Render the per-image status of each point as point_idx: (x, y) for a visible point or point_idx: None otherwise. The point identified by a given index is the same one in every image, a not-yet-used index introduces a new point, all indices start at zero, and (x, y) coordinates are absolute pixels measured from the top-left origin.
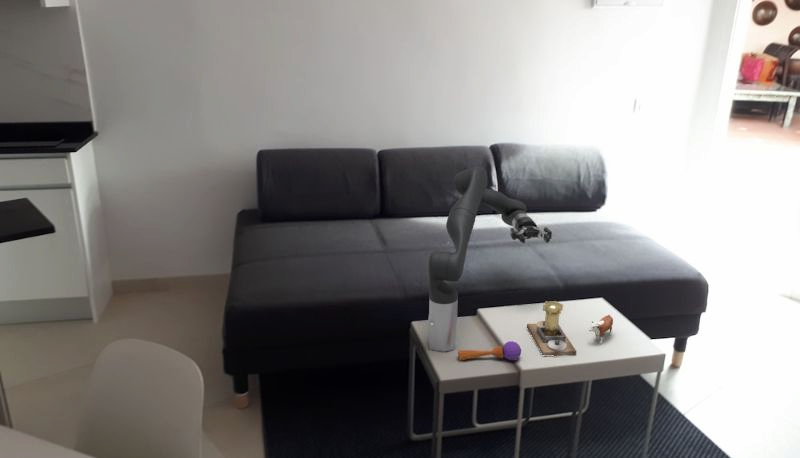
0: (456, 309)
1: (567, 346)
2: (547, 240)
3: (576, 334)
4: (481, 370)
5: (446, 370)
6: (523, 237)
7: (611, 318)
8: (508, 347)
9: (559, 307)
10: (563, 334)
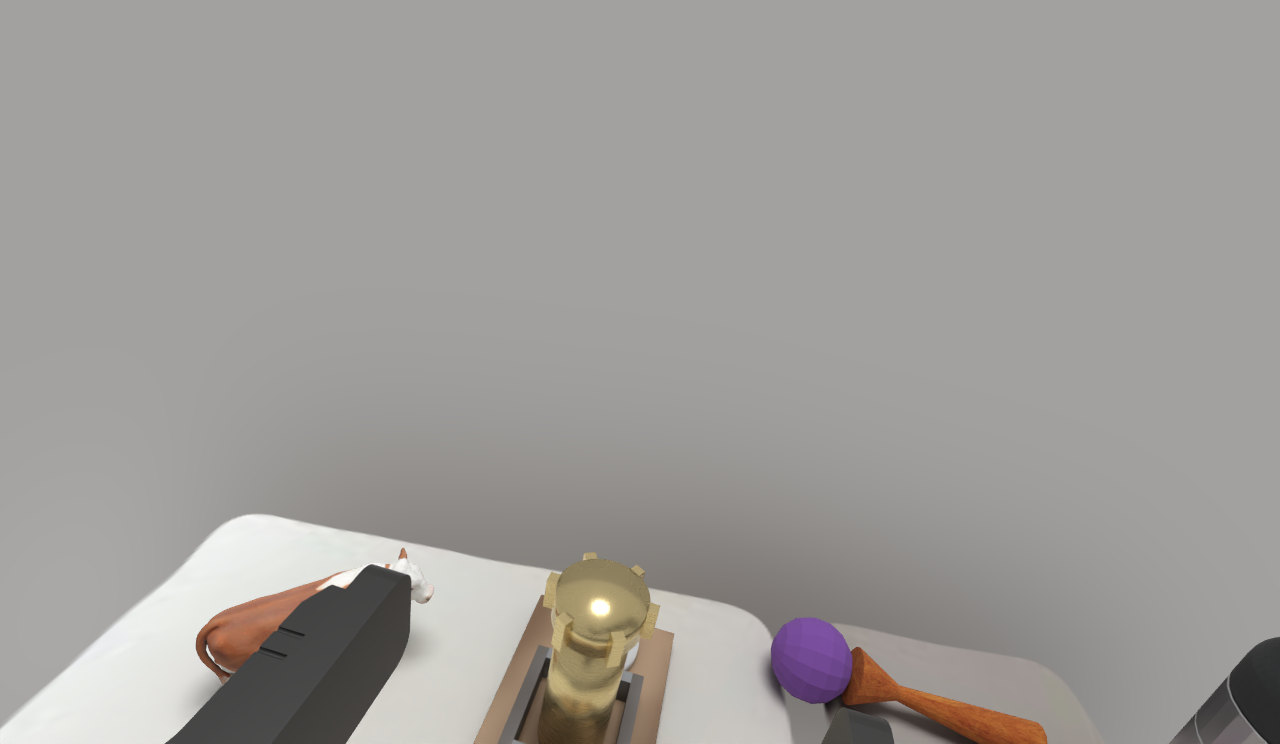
0: (1193, 724)
1: (551, 632)
2: (403, 607)
3: None
4: (921, 656)
5: (1054, 701)
6: (880, 724)
7: (235, 606)
8: (837, 630)
9: (587, 561)
10: (534, 664)
